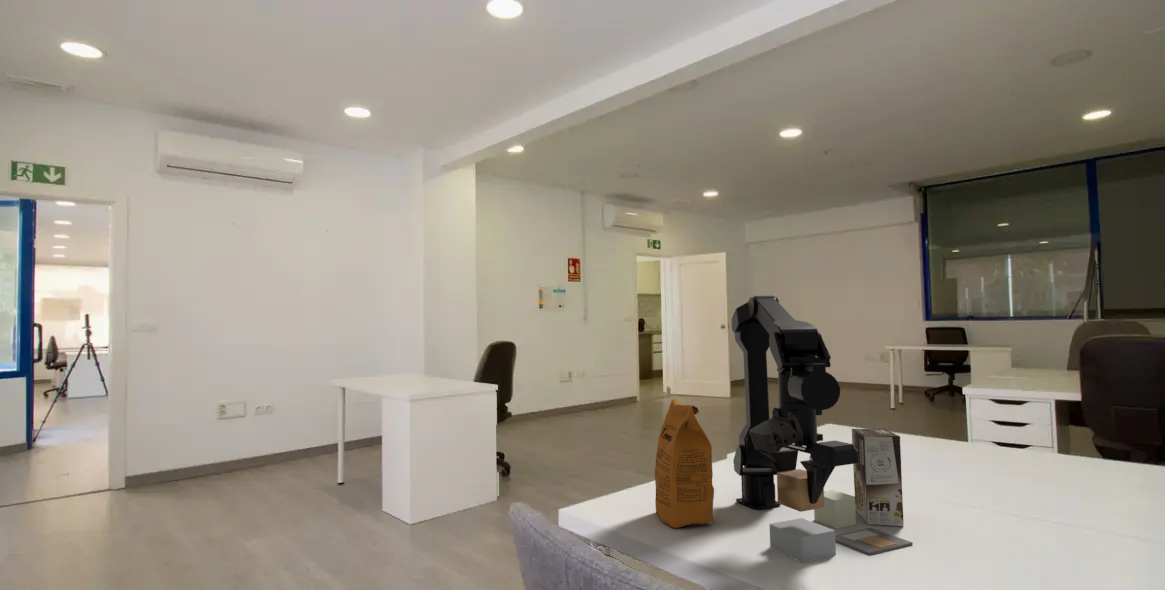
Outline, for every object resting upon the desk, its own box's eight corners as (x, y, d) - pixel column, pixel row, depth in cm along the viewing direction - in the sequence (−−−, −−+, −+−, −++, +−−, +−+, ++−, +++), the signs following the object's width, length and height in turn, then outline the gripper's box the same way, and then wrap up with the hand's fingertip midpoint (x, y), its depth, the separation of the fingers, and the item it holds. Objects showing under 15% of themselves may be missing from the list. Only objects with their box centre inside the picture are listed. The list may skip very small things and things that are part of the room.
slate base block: (770, 548, 95) (769, 523, 96) (802, 542, 98) (801, 517, 99) (802, 564, 89) (801, 537, 89) (835, 556, 92) (835, 530, 92)
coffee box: (905, 527, 104) (901, 436, 105) (866, 525, 106) (863, 435, 107) (889, 511, 113) (885, 427, 114) (854, 510, 115) (850, 427, 116)
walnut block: (777, 503, 95) (776, 472, 96) (800, 499, 98) (799, 469, 98) (800, 511, 91) (799, 479, 91) (824, 507, 93) (823, 475, 93)
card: (829, 538, 99) (828, 535, 99) (870, 530, 103) (870, 527, 103) (869, 555, 92) (869, 551, 92) (912, 544, 96) (912, 541, 96)
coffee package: (697, 507, 117) (695, 397, 119) (720, 528, 105) (716, 405, 106) (649, 510, 116) (647, 398, 117) (666, 531, 104) (663, 406, 105)
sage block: (814, 520, 109) (813, 493, 109) (834, 516, 111) (833, 490, 111) (836, 528, 104) (835, 500, 105) (856, 524, 106) (855, 496, 107)
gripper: (721, 398, 100) (723, 491, 99) (803, 412, 83) (807, 523, 82) (771, 395, 105) (774, 483, 104) (858, 407, 88) (863, 512, 87)
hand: (800, 499), depth 94 cm, fingers closed on walnut block, 5 cm apart
